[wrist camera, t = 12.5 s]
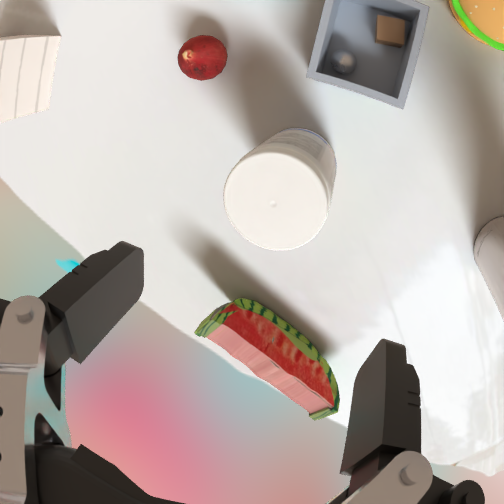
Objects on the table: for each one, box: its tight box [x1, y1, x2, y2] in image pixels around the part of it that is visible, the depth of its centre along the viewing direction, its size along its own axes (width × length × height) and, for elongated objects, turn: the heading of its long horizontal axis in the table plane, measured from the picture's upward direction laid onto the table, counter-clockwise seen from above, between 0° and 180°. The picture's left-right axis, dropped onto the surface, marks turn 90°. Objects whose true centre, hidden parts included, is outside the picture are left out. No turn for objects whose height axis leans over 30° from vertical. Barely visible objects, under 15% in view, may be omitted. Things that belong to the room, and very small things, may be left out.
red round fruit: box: [178, 35, 227, 81], centre depth 32 cm, size 6×6×8 cm
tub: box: [306, 0, 429, 109], centre depth 26 cm, size 10×12×7 cm
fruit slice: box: [194, 298, 340, 420], centre depth 49 cm, size 26×6×10 cm, turn 52°
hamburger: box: [449, 0, 504, 51], centre depth 17 cm, size 12×12×9 cm
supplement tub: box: [223, 128, 337, 251], centre depth 33 cm, size 10×10×15 cm
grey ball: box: [331, 49, 357, 75], centre depth 29 cm, size 3×3×3 cm
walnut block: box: [375, 15, 405, 48], centre depth 25 cm, size 3×3×3 cm
